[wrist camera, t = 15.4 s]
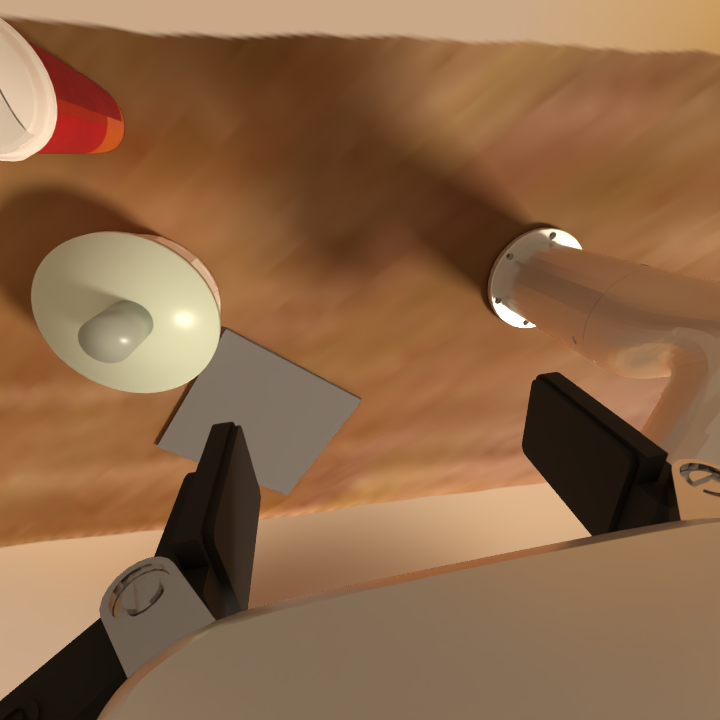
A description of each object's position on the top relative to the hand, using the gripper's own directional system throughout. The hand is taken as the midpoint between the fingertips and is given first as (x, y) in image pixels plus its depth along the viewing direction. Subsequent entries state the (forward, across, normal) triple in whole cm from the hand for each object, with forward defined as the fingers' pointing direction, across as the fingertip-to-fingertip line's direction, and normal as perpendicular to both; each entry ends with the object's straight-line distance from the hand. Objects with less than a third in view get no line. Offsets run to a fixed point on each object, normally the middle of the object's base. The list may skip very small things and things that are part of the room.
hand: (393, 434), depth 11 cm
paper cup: (+34, +20, -14) cm, 41 cm away
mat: (+33, +12, +22) cm, 41 cm away
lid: (+27, +20, +3) cm, 34 cm away
